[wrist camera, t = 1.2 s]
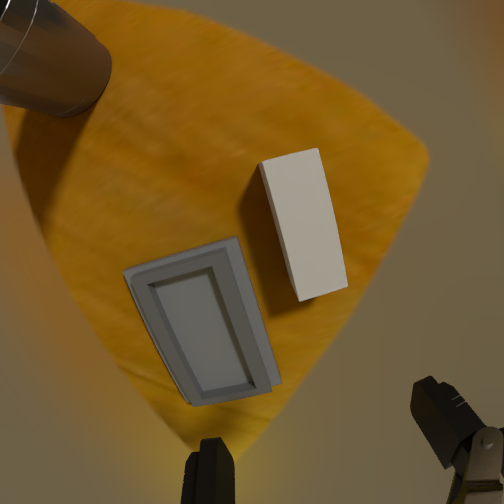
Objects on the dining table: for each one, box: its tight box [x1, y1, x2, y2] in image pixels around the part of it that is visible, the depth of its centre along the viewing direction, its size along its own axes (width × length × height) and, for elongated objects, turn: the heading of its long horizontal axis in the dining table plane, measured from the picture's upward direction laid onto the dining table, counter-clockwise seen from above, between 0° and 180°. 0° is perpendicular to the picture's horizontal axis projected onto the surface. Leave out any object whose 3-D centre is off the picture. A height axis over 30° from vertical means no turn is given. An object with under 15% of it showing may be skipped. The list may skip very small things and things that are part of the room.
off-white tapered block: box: [258, 148, 348, 302], centre depth 25 cm, size 4×12×5 cm, turn 16°
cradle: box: [123, 236, 282, 407], centre depth 29 cm, size 12×18×2 cm, turn 16°
